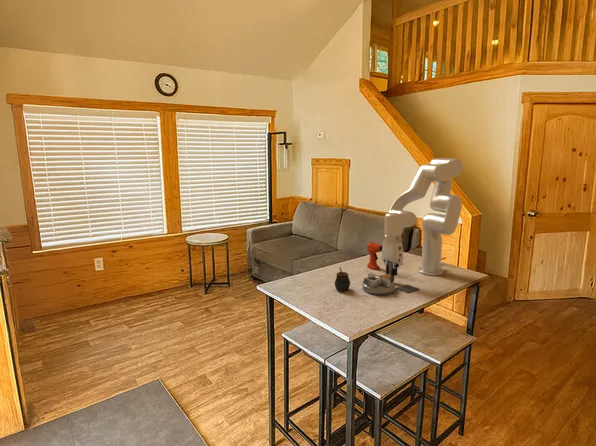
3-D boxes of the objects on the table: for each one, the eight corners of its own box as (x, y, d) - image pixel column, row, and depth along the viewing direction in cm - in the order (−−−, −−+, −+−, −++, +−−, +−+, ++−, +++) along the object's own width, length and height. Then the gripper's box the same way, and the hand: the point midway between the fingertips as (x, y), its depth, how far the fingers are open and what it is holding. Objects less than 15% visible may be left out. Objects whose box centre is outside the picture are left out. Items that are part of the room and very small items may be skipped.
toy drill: (390, 273, 194) (388, 244, 192) (365, 268, 209) (363, 242, 208) (397, 271, 196) (395, 243, 195) (371, 266, 212) (370, 240, 211)
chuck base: (378, 281, 186) (378, 275, 186) (401, 290, 174) (402, 284, 173) (355, 288, 178) (355, 282, 178) (378, 298, 166) (379, 291, 165)
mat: (407, 285, 181) (407, 284, 181) (419, 289, 176) (419, 288, 176) (396, 288, 177) (396, 287, 177) (407, 293, 171) (407, 292, 171)
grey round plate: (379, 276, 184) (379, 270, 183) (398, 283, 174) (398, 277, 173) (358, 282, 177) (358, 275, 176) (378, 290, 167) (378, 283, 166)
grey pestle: (391, 278, 187) (391, 259, 185) (395, 280, 184) (396, 261, 182) (386, 280, 185) (387, 260, 183) (391, 282, 183) (392, 262, 181)
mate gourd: (339, 293, 172) (339, 272, 170) (331, 288, 179) (331, 268, 177) (352, 291, 174) (353, 270, 172) (344, 285, 181) (345, 266, 179)
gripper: (411, 240, 176) (409, 277, 179) (385, 234, 189) (384, 268, 193) (400, 243, 172) (399, 281, 175) (374, 236, 185) (374, 271, 189)
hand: (391, 274), depth 184 cm, fingers closed on grey pestle, 3 cm apart
